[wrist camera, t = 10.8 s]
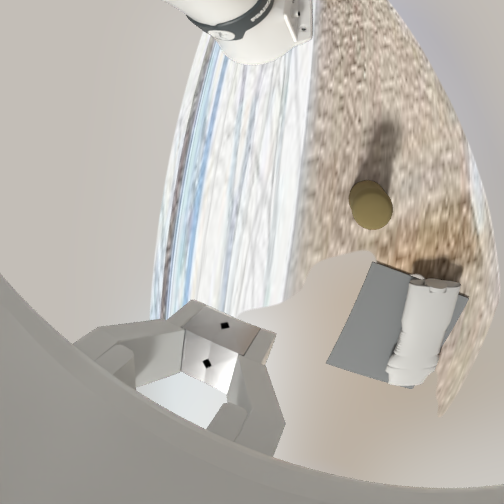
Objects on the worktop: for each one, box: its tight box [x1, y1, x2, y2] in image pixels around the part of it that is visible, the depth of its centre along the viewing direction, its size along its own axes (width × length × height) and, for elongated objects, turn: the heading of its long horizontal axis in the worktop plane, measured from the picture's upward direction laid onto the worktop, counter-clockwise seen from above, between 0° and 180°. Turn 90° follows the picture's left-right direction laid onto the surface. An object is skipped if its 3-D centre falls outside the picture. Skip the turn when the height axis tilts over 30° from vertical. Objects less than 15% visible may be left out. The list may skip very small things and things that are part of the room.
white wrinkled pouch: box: [385, 278, 461, 386], centre depth 41 cm, size 11×4×22 cm
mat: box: [326, 262, 469, 389], centre depth 44 cm, size 22×20×1 cm
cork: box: [349, 180, 393, 230], centre depth 35 cm, size 6×6×11 cm
